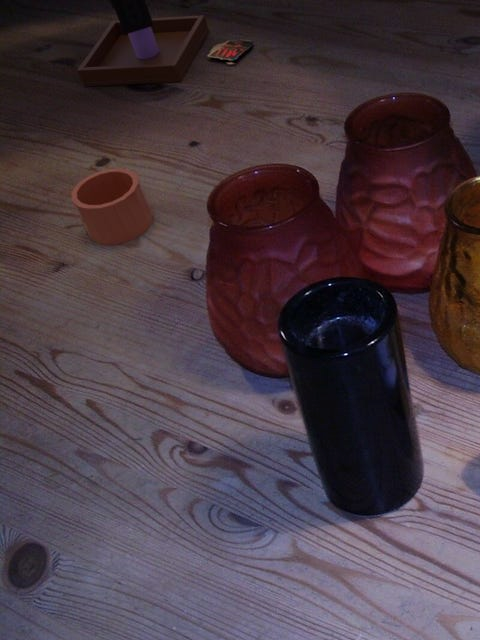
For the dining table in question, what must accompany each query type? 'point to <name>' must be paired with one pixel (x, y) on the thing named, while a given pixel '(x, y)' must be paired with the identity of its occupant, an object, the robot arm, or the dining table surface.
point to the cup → (112, 206)
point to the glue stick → (144, 43)
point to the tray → (125, 68)
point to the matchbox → (230, 49)
